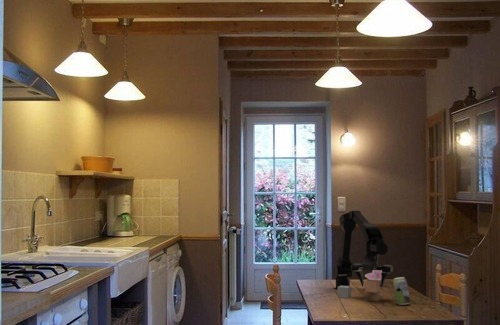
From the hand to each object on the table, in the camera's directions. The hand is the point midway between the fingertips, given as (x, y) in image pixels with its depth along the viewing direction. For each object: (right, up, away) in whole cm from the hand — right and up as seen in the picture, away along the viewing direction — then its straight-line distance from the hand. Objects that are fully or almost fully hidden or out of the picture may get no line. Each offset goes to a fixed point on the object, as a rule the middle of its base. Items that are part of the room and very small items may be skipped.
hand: (372, 286), depth 262 cm
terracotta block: (0, -2, 0) cm, 2 cm away
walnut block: (0, -6, 0) cm, 6 cm away
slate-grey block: (-12, -7, +7) cm, 15 cm away
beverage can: (+10, -5, -13) cm, 17 cm away
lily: (+11, -9, +42) cm, 45 cm away
